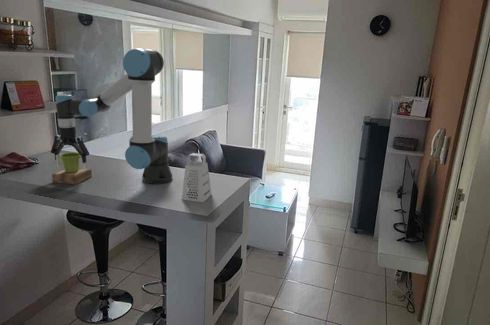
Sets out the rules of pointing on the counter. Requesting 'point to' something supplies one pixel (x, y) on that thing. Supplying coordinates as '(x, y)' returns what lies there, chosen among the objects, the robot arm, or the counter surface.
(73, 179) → the tan flat square block
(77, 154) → the plant pot
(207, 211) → the counter surface
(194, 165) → the grater
